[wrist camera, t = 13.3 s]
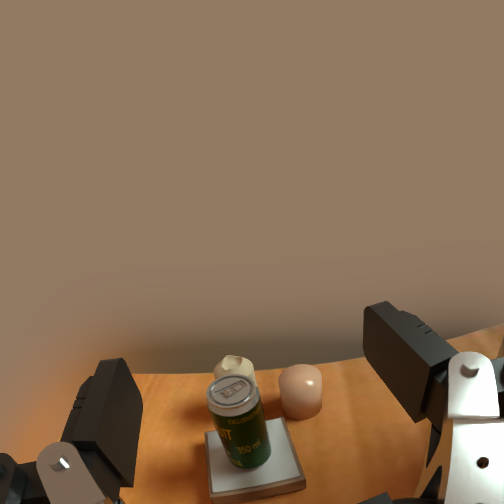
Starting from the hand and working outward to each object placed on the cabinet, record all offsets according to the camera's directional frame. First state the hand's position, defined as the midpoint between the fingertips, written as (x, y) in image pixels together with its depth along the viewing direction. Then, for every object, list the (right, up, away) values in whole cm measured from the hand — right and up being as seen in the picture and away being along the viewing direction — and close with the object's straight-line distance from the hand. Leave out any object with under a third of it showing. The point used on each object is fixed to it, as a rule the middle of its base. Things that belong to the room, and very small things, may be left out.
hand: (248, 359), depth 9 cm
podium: (0, -24, +24) cm, 34 cm away
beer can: (0, -21, +23) cm, 31 cm away
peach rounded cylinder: (+8, -20, +33) cm, 39 cm away
